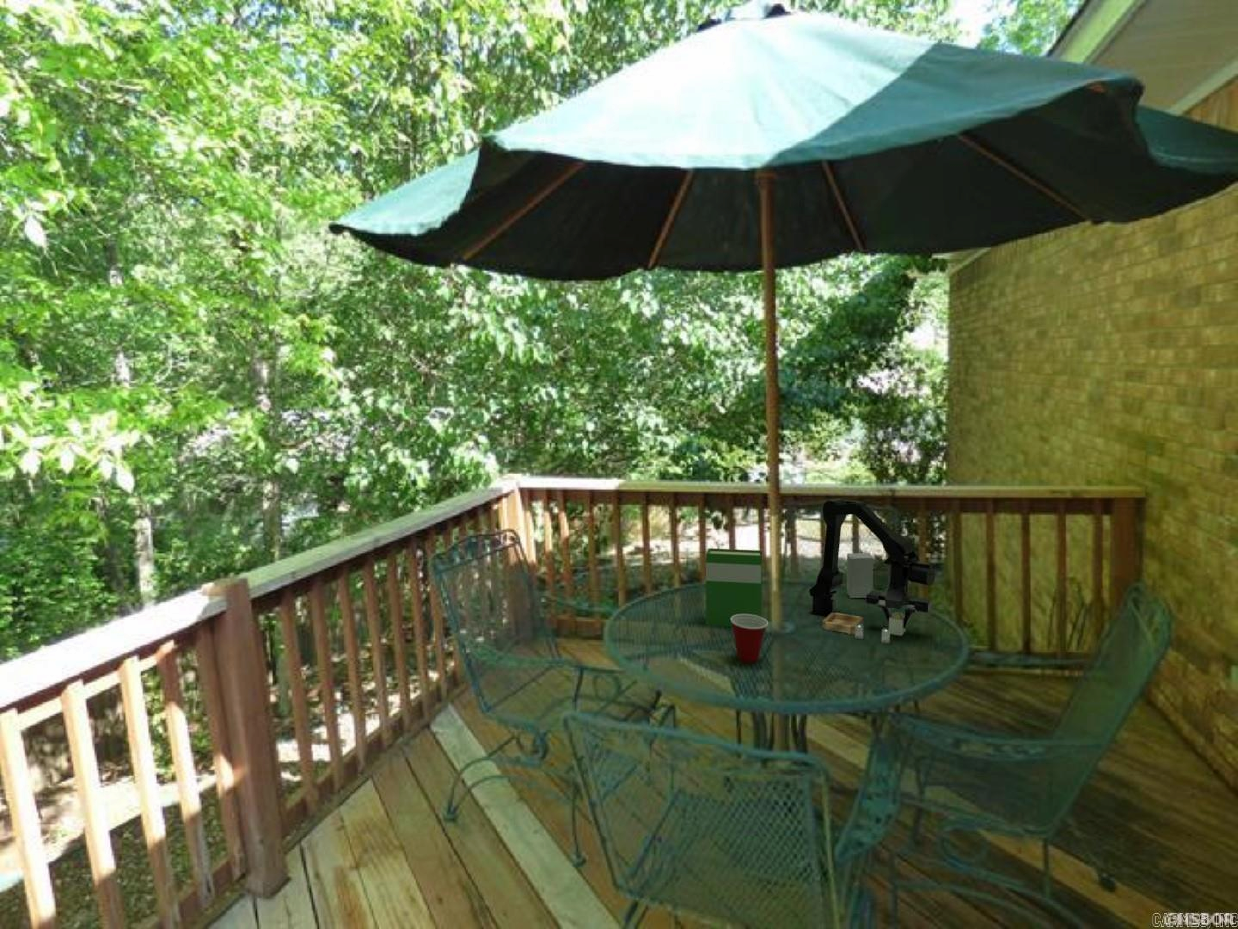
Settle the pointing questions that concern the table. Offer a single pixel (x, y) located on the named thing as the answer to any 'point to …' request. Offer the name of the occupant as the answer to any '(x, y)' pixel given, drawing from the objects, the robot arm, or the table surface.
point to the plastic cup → (748, 636)
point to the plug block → (896, 623)
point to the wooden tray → (842, 622)
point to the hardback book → (732, 584)
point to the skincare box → (859, 574)
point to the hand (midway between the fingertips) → (897, 627)
